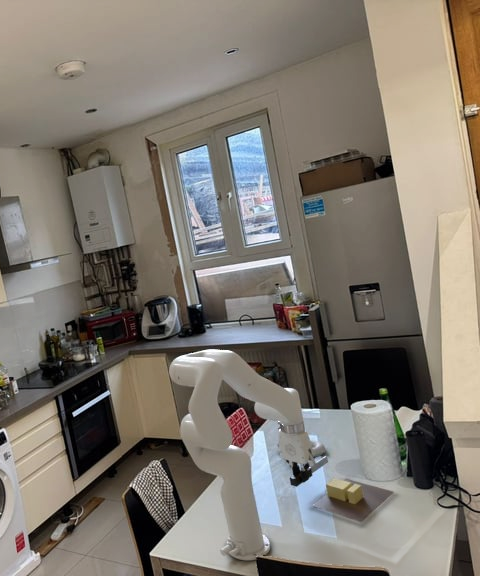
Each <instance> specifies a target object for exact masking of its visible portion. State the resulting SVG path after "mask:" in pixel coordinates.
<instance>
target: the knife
mask: <svg viewBox="0 0 480 576" xmlns="http://www.w3.org/2000/svg"><path fill="white" fill-rule="evenodd" d="M315 462H316V465H315V466H312V467H309V468H308V474H309V479H310V478H311V477H313V474H314V473H315V472H317V471H318V470H319V469H321V468H322V467H324V466H325V465H327V464H328V463H329V459H328V455H325V456H324V457H322V458H320V459H319V460H318V461H315ZM300 471H301V469H300ZM300 471H299V472H297V473H296V474H294V475H293V474H292V475H291V476H290V477H289V483H290V486H293V487H296V488H297V487H298V486H300V485H302V484H303V482H302V480H301V475H300Z"/></svg>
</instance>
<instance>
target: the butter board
mask: <svg viewBox="0 0 480 576" xmlns="http://www.w3.org/2000/svg"><path fill="white" fill-rule="evenodd" d="M343 480H344V481H347V482H351V483H352V486H353V485H354V484H358V485H361V487H362V492H363V498H362V499H361V500H360V501H358V502H357V503H356V504H352V503H349V499H347V500H346V501H343V500H340V499H337V498H333V497H330V496H328V494H327V493H325V494H324V495H323V496H322V497H321V498H320V499H318V500H317V501H316V502H315V503H313V504H312V505H311V506H312V507H314V508H317V509H321V510H323V511H326V512H329V513H332V514H334V515H338V516H341V517H344V518H347V519H349V520H352V521H355V522H358V523H363V522H364V521H365V520H366V518H368V517H369V516H370V515H371V514H372V513H373V512H374V511H376V509H377V508H379V507H380V506H381V505H382V504H383V503H384V502H386V500H387V499H388V498H389V497H390V496H391V495H392V494H393V493H394V491H392V490H388V489H386V488H382V487H378V486H375V485H371V484H368V483H363V482H360V481H356V480H353V479H348V478H344V479H343Z"/></svg>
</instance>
